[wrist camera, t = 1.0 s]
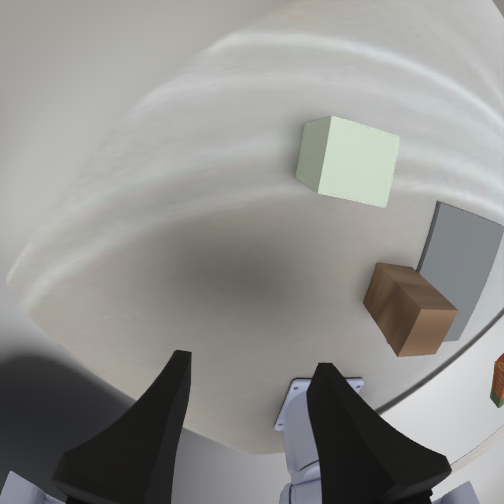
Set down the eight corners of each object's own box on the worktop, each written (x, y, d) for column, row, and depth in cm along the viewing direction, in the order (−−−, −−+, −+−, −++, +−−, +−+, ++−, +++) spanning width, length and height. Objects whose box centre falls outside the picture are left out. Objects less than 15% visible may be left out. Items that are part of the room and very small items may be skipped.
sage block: (346, 188, 19) (385, 208, 13) (294, 177, 18) (317, 193, 13) (356, 136, 17) (400, 137, 12) (304, 123, 17) (331, 115, 11)
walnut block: (397, 305, 22) (435, 353, 16) (362, 303, 22) (397, 356, 16) (412, 267, 21) (458, 310, 15) (377, 262, 21) (421, 309, 14)
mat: (455, 338, 25) (458, 340, 24) (386, 341, 24) (388, 344, 24) (501, 225, 20) (504, 227, 19) (437, 201, 19) (441, 202, 18)
